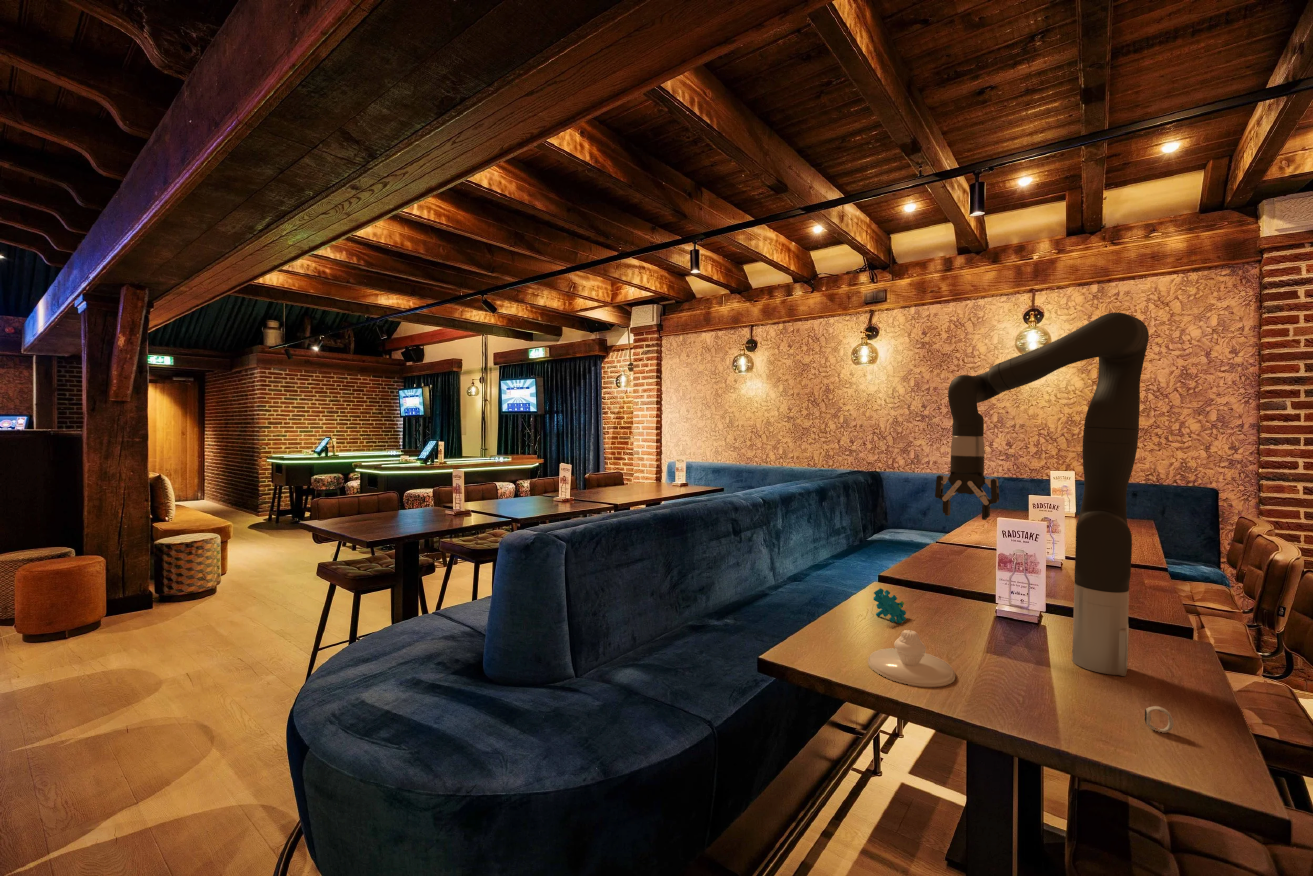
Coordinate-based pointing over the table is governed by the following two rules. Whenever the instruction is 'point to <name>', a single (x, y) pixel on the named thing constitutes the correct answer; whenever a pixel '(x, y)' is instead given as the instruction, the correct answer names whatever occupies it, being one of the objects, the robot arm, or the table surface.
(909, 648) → the muffin
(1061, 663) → the table surface
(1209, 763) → the table surface
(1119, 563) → the robot arm
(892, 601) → the teal knobbly lump
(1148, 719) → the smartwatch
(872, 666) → the plate
